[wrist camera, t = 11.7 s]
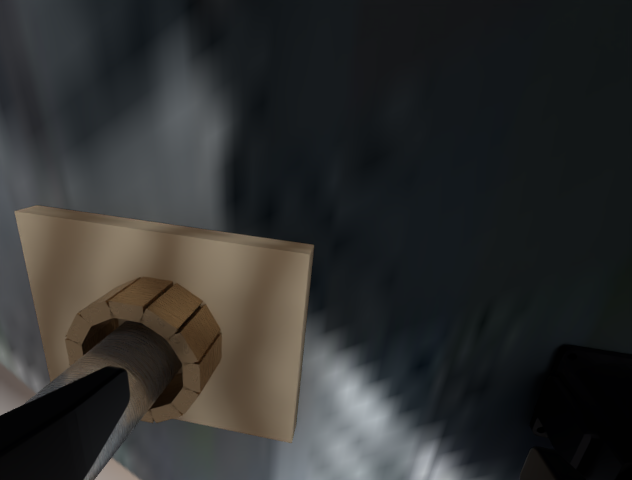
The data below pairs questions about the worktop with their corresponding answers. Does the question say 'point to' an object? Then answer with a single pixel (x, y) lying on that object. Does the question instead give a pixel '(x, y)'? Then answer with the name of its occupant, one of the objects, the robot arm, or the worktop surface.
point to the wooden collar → (166, 320)
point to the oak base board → (201, 280)
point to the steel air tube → (143, 374)
